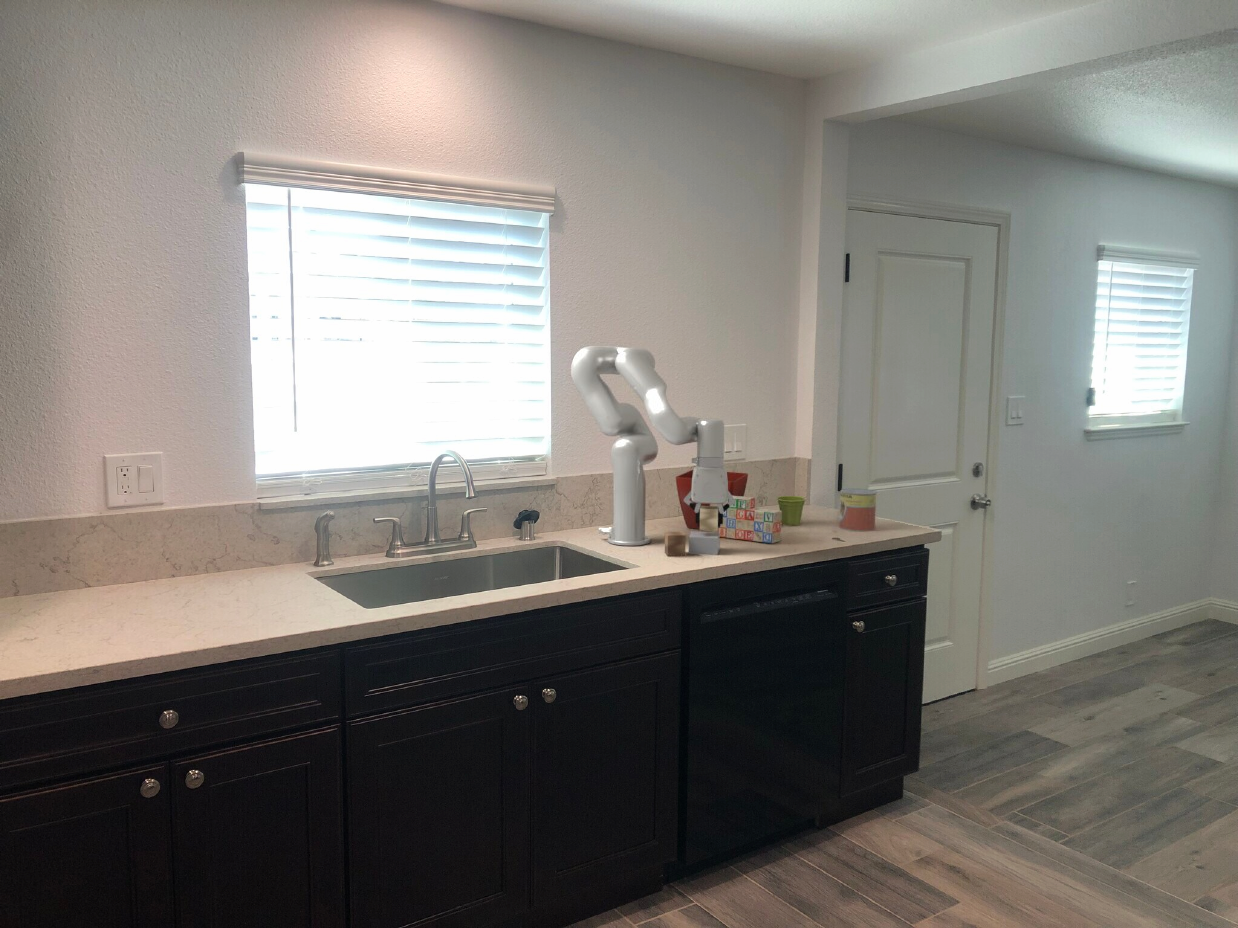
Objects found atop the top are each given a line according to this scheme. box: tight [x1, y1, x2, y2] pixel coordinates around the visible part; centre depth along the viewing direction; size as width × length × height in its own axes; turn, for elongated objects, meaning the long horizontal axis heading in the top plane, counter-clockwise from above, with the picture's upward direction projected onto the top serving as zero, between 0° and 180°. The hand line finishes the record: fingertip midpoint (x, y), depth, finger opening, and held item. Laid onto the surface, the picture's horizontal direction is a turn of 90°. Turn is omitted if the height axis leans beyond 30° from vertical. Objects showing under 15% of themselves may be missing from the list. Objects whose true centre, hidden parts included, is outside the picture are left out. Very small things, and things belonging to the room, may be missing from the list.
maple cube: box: [699, 506, 719, 531], centre depth 266 cm, size 5×5×6 cm
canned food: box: [838, 488, 877, 533], centre depth 301 cm, size 11×11×12 cm
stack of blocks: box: [708, 496, 782, 544], centre depth 283 cm, size 21×6×12 cm, turn 55°
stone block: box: [688, 530, 721, 556], centre depth 266 cm, size 8×8×5 cm
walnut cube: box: [664, 531, 687, 558], centre depth 262 cm, size 5×5×6 cm
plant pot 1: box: [675, 469, 749, 530], centre depth 301 cm, size 19×19×17 cm
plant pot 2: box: [776, 495, 807, 527], centre depth 307 cm, size 9×9×9 cm
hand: (709, 525), depth 266 cm, fingers closed on maple cube, 5 cm apart
